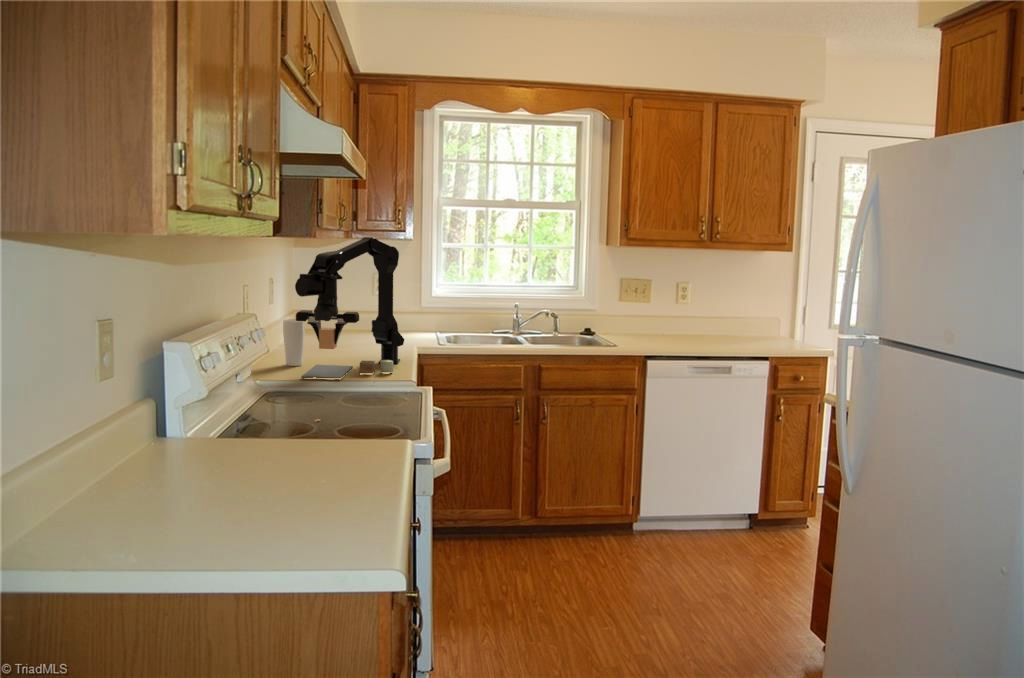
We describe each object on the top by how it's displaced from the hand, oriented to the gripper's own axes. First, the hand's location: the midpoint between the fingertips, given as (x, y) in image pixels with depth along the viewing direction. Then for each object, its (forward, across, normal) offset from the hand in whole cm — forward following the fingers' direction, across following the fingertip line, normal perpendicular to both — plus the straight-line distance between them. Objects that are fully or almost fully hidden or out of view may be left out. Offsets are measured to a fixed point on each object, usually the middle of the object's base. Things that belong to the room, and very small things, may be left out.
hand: (328, 343), depth 248 cm
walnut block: (+10, +12, +2) cm, 16 cm away
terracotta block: (+1, 0, 0) cm, 1 cm away
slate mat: (+10, 0, 0) cm, 10 cm away
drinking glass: (+10, -14, +12) cm, 21 cm away
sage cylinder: (+10, +18, +4) cm, 21 cm away
